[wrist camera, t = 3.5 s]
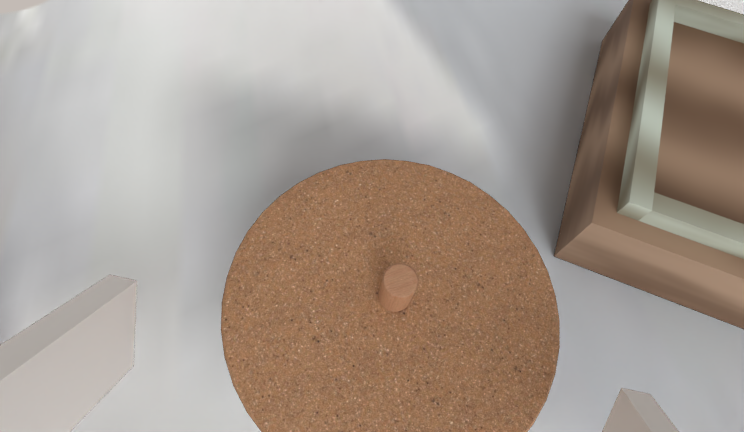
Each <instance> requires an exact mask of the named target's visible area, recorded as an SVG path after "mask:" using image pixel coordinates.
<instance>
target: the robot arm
mask: <svg viewBox="0 0 744 432" xmlns="http://www.w3.org/2000/svg"><path fill="white" fill-rule="evenodd" d="M136 296H137V281H136V280H132V279H127V278H123V277H118V276H114V275H108V276H107V277H105V278H104V279H102V280H100V281H99V282H97V283H96V284H94V285H93V286H91V287H90V288H88V289H86V290H85V291H83V292H82V293H80V294H79V295H77V296H76V297H74V298H73V299H71V300H69V301H68V302H66V303H65V304H63V305H62V306H60V307H59V308H57V309H55V310H54V311H52V312H51V313H49V314H48V315H46V316H45V317H43V318H42V319H40V320H38V321H37V322H35V323H34V324H32V325H31V326H29V327H28V328H26V329H24V330H23V331H21V332H20V333H18V334H17V335H15V336H14V337H12V338H11V339H9V340H7V341H6V342H4V343H3V344H1V345H0V432H70V431H71V430H72V429H73V428H74V427H75V426H76V425H77V424H78V423H79V422H80V421H81V420H82V419H83V418H84V417H85V416H86V415H87V414H88V413H89V412H90V411H91V410H92V409H93V408H94V407H95V406H96V405H97V404H98V403H99V402H100V400H101V399H102V398H103V397H104V396H105V395H106V394H107V393H108V392H109V391H110V390H111V389H112V388H113V387H114V386H115V385H116V384H117V383H118V382H119V381H120V380H121V379H122V378H123V377H124V376H125V375H126V374H127V373H128V372H129V371H130V370H131V369H132V367H133V366H134V347H135V322H136ZM602 432H679V431H678V430H677V428H676V427H675V426H674V424H673V423H672V422H671V420H670V419H669V418H668V417H667V415H666V414H665V413H664V411H663V410H662V409H661V407H660V406H659V405H658V403H657V402H656V401H655V399H654V398H653V397H652V396H651V394H647V393H643V392H638V391H634V390H629V389H625V388H621V390H620V392H619V395H618V397H617V399H616V401H615V404H614V406H613V408H612V410H611V413H610V415H609V417H608V419H607V422H606V424H605V426H604V428H603V431H602Z"/></svg>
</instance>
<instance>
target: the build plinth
mask: <svg viewBox="0 0 744 432" xmlns="http://www.w3.org/2000/svg"><path fill="white" fill-rule="evenodd" d="M554 257H557V258H560V259H562V260H565V261H568V262H570V263H573V264H575V265H578V266H581V267H583V268H586V269H588V270H591V271H594V272H596V273H599V274H601V275H604V276H607V277H609V278H612V279H614V280H617V281H620V282H622V283H625V284H628V285H630V286H633V287H635V288H638V289H641V290H643V291H646V292H648V293H651V294H654V295H656V296H659V297H661V298H664V299H667V300H669V301H672V302H674V303H677V304H680V305H682V306H685V307H688V308H690V309H693V310H695V311H698V312H701V313H703V314H706V315H708V316H711V317H714V318H716V319H719V320H721V321H724V322H727V323H729V324H732V325H735V326H737V327H740V328H742V329H744V14H740V13H737V12H734V11H730V10H727V9H724V8H720V7H717V6H714V5H711V4H707V3H704V2H701V1H697V0H629V1H628V2H627V4H626V5H625V7H624V8H623V10H622V11H621V13H620V14H619V16H618V17H617V19H616V21H615V22H614V24H613V25H612V27H611V28H610V30H609V31H608V33H607V34H606V36H605V37H604V39H603V41H602V45H601V49H600V53H599V58H598V62H597V67H596V71H595V76H594V80H593V85H592V89H591V93H590V98H589V102H588V107H587V111H586V116H585V120H584V125H583V129H582V133H581V138H580V142H579V147H578V151H577V156H576V160H575V165H574V169H573V173H572V178H571V182H570V187H569V191H568V196H567V200H566V205H565V209H564V213H563V218H562V222H561V227H560V231H559V236H558V240H557V245H556V249H555V253H554Z"/></svg>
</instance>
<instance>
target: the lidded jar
mask: <svg viewBox="0 0 744 432" xmlns="http://www.w3.org/2000/svg"><path fill="white" fill-rule="evenodd" d="M221 333H222V341H223V348H224V356H225V360H226V363H227V367H228V370H229V373H230V376H231V379H232V383H233V386H234V388H235V390H236V392H237V394H238V396H239V398H240V400H241V401H242V403H243V405H244V407H245V409H246V411H247V413H248V414H249V416H250V417H251V418H252V420H253V421H254V422H255V424H256V425H257V426H258V428H259V429H260V430H261V432H527V431H528V430H529V429H530V428H531V426H532V425H533V424H534V422H535V420H536V418H537V416H538V414H539V413H540V411H541V409H542V407H543V405H544V403H545V402H546V400H547V397H548V394H549V391H550V388H551V385H552V382H553V379H554V376H555V372H556V366H557V360H558V353H559V315H558V309H557V303H556V296H555V293H554V290H553V286H552V283H551V280H550V277H549V274H548V271H547V269H546V267H545V265H544V263H543V261H542V258H541V256H540V254H539V252H538V250H537V248H536V247H535V245H534V244H533V242H532V241H531V239H530V238H529V236H528V235H527V233H526V232H525V230H524V229H523V228H522V227H521V226H520V224H519V223H518V222H517V221H516V220H515V219H514V218H513V216H512V215H511V214H510V213H509V212H508V211H507V210H506V209H505V208H504V207H503V206H501V205H500V204H499V203H498V202H497V201H496V200H494V199H493V198H492V197H491V196H490V195H488V194H487V193H485V192H484V191H482V190H481V189H479V188H478V187H476V186H475V185H474V184H472V183H471V182H468V181H466V180H464V179H462V178H460V177H458V176H456V175H454V174H452V173H449V172H446V171H444V170H441V169H438V168H435V167H432V166H429V165H425V164H419V163H414V162H409V161H399V160H387V159H383V160H369V161H359V162H354V163H349V164H344V165H340V166H337V167H334V168H331V169H328V170H325V171H322V172H319V173H317V174H315V175H313V176H311V177H309V178H307V179H305V180H303V181H301V182H299V183H298V184H296V185H295V186H293V187H292V188H291V189H289V190H288V191H286V192H285V193H284V194H282V195H281V196H279V197H278V198H277V199H276V200H275V201H274V202H273V203H272V204H271V205H270V206H269V207H268V208H267V209H266V210H265V211H264V212H263V213H262V214H261V215H260V216H259V218H258V219H257V220H256V221H255V223H254V224H253V225H252V227H251V228H250V229H249V230H248V232H247V234H246V235H245V237H244V239H243V241H242V243H241V244H240V246H239V248H238V250H237V252H236V254H235V256H234V259H233V262H232V264H231V267H230V270H229V273H228V275H227V279H226V284H225V289H224V294H223V299H222V315H221Z"/></svg>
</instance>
